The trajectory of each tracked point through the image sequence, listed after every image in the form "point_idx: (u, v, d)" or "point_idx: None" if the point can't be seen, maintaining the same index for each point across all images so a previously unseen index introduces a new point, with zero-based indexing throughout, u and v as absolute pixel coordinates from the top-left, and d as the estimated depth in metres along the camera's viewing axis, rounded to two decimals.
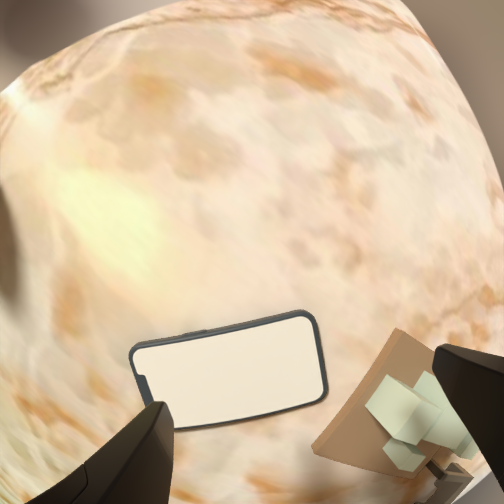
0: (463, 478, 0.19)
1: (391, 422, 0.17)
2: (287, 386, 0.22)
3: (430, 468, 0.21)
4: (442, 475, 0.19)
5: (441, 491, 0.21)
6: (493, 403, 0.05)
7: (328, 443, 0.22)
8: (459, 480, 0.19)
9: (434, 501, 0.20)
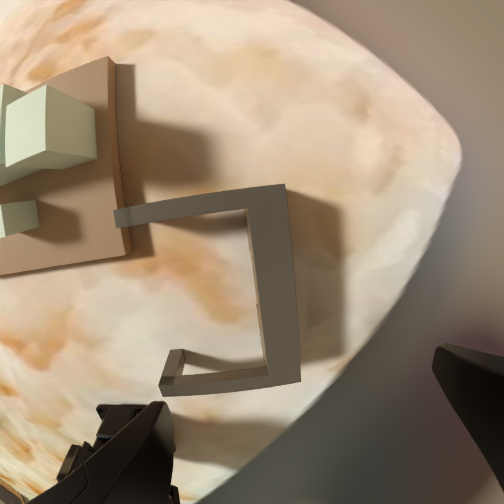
0: (223, 197, 0.14)
1: None
2: None
3: None
4: (115, 216, 0.14)
5: (251, 255, 0.17)
6: (493, 403, 0.05)
7: None
8: (213, 207, 0.14)
9: None
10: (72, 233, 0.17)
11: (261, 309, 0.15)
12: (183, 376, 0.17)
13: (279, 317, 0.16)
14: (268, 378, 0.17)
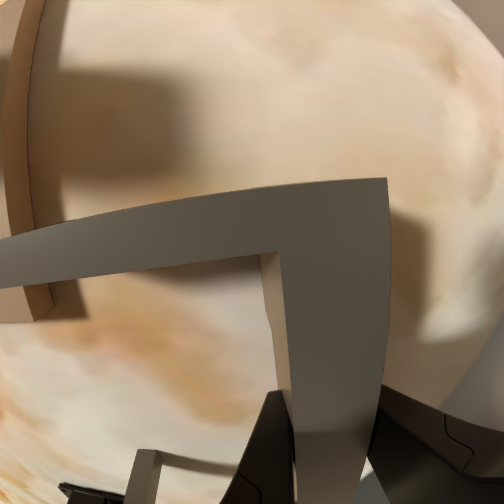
0: (201, 217, 0.04)
1: None
2: None
3: None
4: None
5: (275, 342, 0.07)
6: (395, 455, 0.05)
7: None
8: (168, 250, 0.04)
9: None
10: None
11: (298, 462, 0.06)
12: None
13: (332, 466, 0.06)
14: None
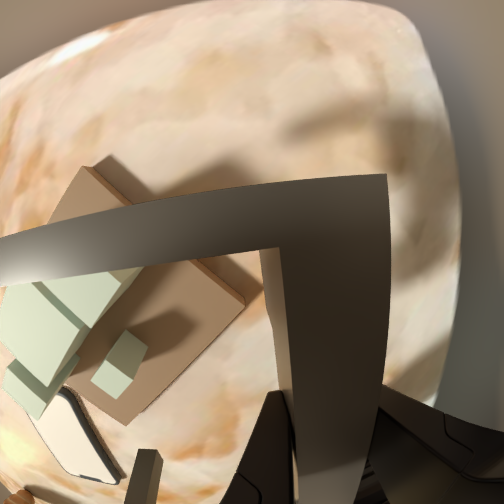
0: (202, 213, 0.04)
1: None
2: (61, 416, 0.20)
3: None
4: None
5: (276, 340, 0.07)
6: (395, 456, 0.05)
7: (112, 414, 0.20)
8: (168, 246, 0.04)
9: None
10: (183, 328, 0.18)
11: (299, 460, 0.06)
12: None
13: (333, 464, 0.06)
14: None
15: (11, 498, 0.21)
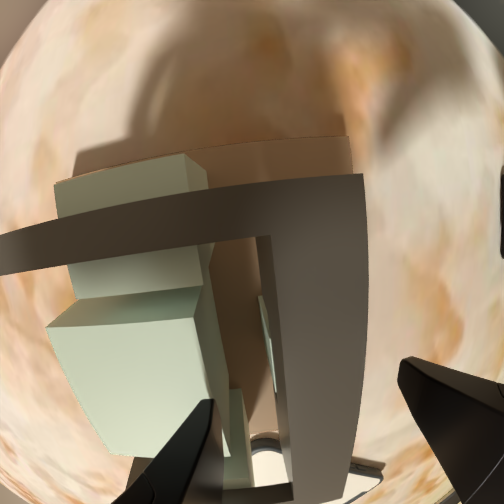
0: (207, 206, 0.05)
1: None
2: (276, 471, 0.17)
3: None
4: None
5: (270, 323, 0.08)
6: (457, 426, 0.05)
7: None
8: (179, 234, 0.05)
9: (278, 380, 0.08)
10: None
11: (291, 434, 0.07)
12: None
13: (324, 440, 0.07)
14: (293, 503, 0.08)
15: None
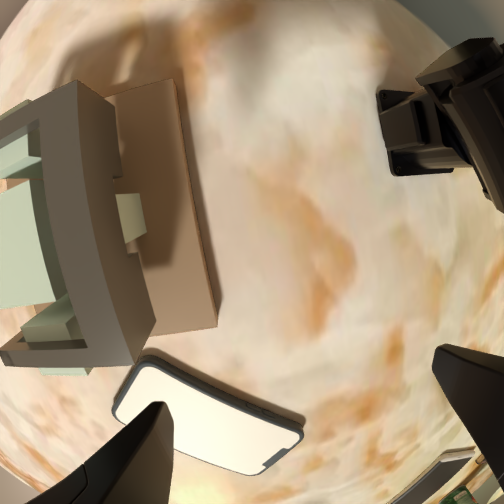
0: (21, 113, 0.08)
1: None
2: (168, 397, 0.20)
3: None
4: None
5: None
6: (493, 403, 0.05)
7: (191, 324, 0.18)
8: (12, 127, 0.08)
9: None
10: (146, 142, 0.15)
11: (55, 245, 0.09)
12: (20, 343, 0.11)
13: (77, 257, 0.10)
14: (89, 353, 0.11)
15: None
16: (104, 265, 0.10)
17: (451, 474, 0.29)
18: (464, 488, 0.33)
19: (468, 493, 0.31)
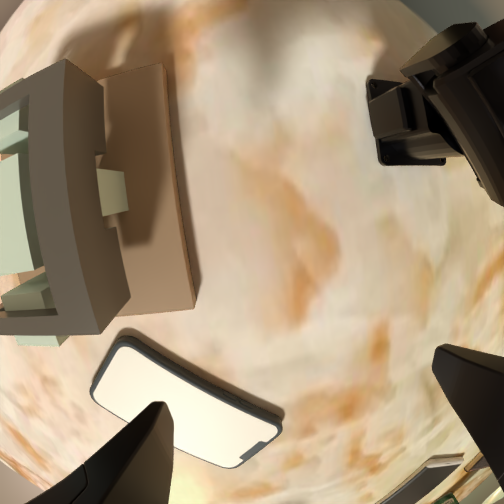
0: (14, 90, 0.08)
1: None
2: (144, 380, 0.20)
3: None
4: None
5: None
6: (493, 403, 0.05)
7: (168, 305, 0.18)
8: (5, 102, 0.08)
9: None
10: (133, 122, 0.15)
11: (34, 212, 0.09)
12: None
13: (52, 223, 0.09)
14: (59, 320, 0.10)
15: None
16: (77, 232, 0.10)
17: (438, 481, 0.29)
18: (451, 496, 0.33)
19: (455, 501, 0.31)
